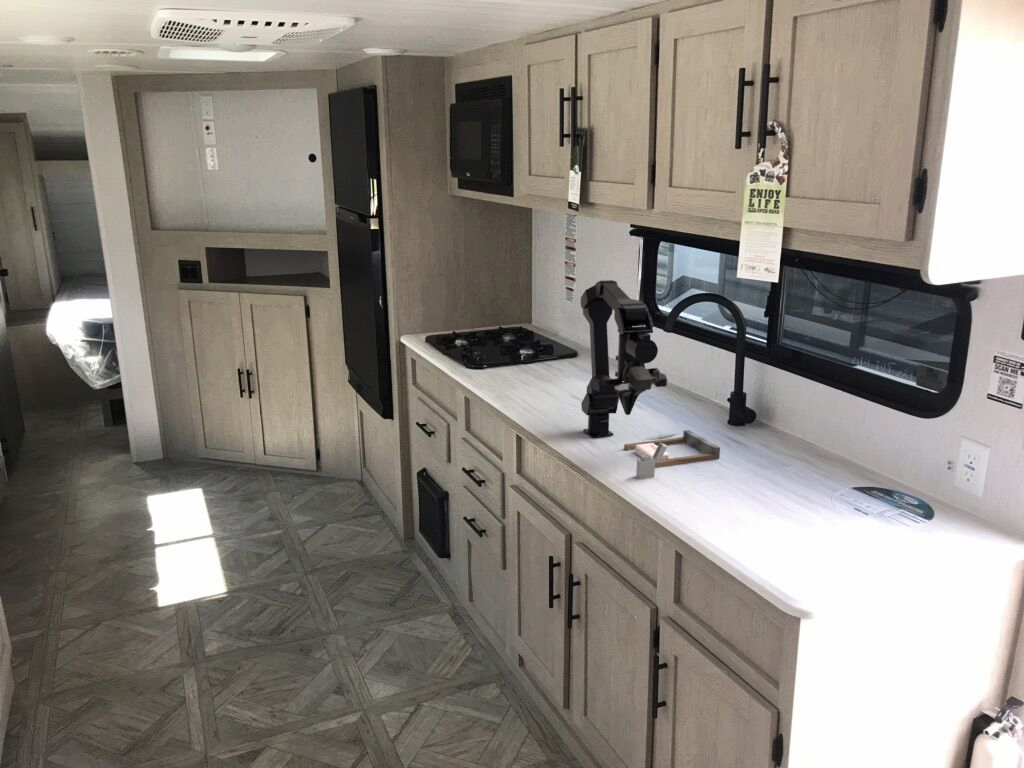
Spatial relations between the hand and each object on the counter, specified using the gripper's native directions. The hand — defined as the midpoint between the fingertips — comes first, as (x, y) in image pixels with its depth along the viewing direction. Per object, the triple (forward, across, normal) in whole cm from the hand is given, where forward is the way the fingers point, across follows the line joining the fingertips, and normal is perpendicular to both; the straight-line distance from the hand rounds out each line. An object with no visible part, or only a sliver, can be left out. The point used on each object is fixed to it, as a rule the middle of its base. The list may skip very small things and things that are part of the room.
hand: (627, 414), depth 215 cm
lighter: (+12, 0, -12) cm, 17 cm away
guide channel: (+12, +12, 0) cm, 17 cm away
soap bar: (+13, +8, 0) cm, 15 cm away
